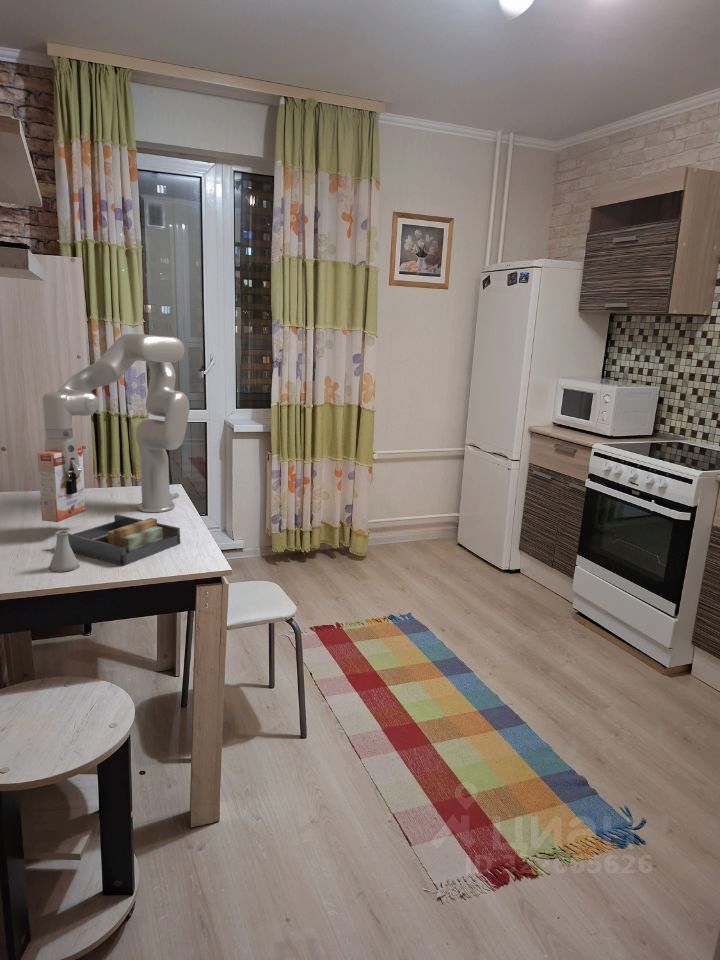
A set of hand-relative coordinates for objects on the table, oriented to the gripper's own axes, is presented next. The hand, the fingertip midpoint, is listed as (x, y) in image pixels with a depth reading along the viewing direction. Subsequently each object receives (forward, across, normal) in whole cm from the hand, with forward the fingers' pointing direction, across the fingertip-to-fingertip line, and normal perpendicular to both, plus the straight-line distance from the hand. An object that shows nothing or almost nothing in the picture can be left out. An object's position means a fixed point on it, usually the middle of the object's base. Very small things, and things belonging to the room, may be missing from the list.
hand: (63, 491), depth 199 cm
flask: (+14, -24, +20) cm, 34 cm away
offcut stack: (+14, -30, 0) cm, 33 cm away
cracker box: (+8, 0, 0) cm, 8 cm away
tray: (+13, -23, 0) cm, 27 cm away
